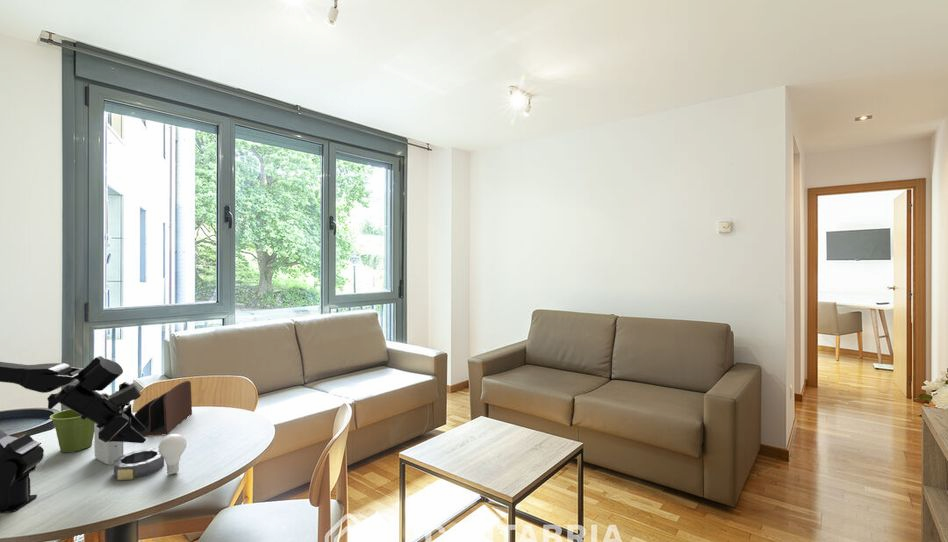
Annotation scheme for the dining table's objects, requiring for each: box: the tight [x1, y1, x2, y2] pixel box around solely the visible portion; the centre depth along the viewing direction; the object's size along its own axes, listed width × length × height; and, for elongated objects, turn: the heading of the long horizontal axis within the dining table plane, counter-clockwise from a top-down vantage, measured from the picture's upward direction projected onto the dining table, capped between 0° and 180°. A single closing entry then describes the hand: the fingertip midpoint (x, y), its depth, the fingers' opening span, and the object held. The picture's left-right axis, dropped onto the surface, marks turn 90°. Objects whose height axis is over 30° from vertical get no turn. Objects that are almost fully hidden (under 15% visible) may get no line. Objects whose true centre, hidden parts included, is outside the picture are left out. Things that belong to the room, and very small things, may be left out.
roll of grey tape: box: [113, 448, 165, 481], centre depth 121 cm, size 12×11×4 cm
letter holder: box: [133, 380, 193, 437], centre depth 154 cm, size 10×20×14 cm, turn 12°
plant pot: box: [49, 408, 95, 453], centre depth 135 cm, size 12×12×11 cm
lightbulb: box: [157, 433, 187, 475], centre depth 119 cm, size 6×6×11 cm
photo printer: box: [93, 423, 124, 466], centre depth 127 cm, size 10×4×12 cm, turn 60°
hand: (144, 435), depth 115 cm, fingers open, 9 cm apart
